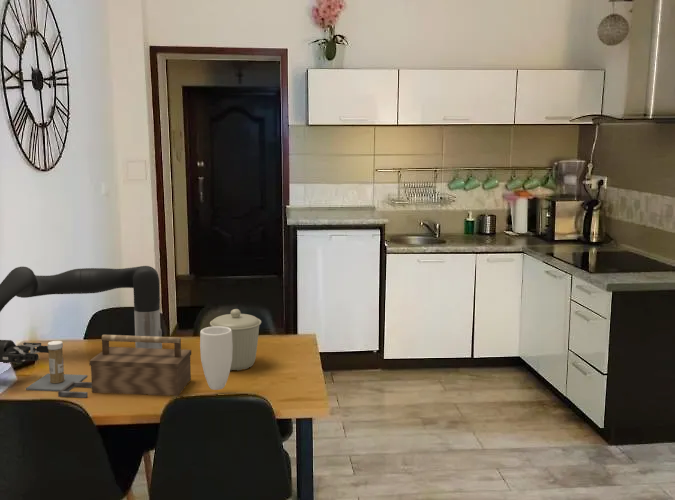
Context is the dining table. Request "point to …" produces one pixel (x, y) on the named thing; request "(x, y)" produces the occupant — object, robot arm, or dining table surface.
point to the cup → (216, 355)
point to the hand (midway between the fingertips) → (44, 353)
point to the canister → (241, 337)
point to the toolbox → (136, 368)
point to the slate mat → (46, 385)
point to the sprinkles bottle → (56, 361)
